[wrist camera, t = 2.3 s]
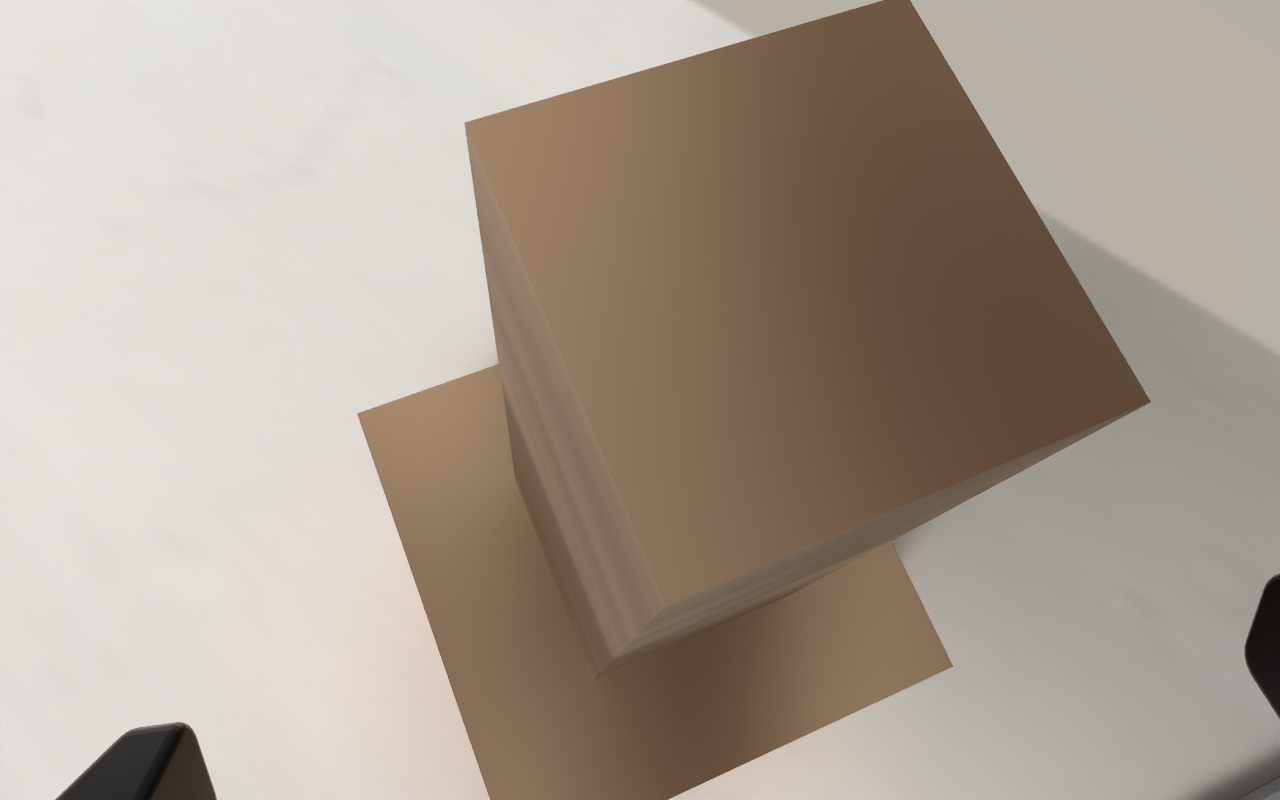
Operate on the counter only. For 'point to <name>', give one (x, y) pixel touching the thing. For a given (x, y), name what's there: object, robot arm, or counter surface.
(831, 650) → the lid
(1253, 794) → the mat
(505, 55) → the counter surface
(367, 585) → the counter surface
